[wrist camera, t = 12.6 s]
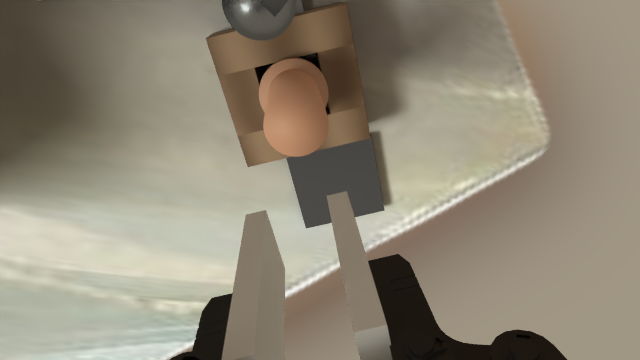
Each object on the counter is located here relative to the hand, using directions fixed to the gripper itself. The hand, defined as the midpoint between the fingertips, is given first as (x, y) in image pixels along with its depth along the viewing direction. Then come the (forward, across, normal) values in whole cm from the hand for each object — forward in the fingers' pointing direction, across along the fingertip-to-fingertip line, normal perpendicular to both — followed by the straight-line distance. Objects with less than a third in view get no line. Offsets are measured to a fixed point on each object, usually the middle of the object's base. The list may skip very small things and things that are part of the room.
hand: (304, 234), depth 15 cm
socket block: (+27, 0, +2) cm, 27 cm away
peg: (+27, 0, 0) cm, 27 cm away
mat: (+27, +2, -12) cm, 30 cm away
